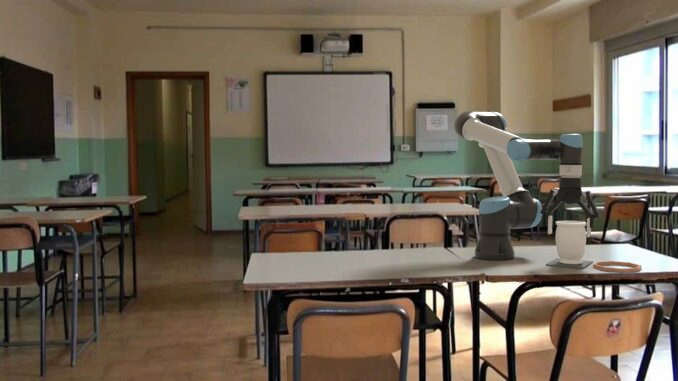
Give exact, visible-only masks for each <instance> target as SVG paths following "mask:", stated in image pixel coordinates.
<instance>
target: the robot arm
mask: <svg viewBox="0 0 678 381" xmlns="http://www.w3.org/2000/svg"><path fill="white" fill-rule="evenodd" d="M453 124H454V125H453V128H454V132H455V134H456V135H457V136H458V137H460V138H462V139H464V140H467V141H475V142H476V143H477V144H478V147H480V148H481V149H482V148H483V150H484V152H485V154H486V157H487V160H488V162H489V164H490V167H491V170H492V172H493V174H494V177H495V179H496V181H497V182H496V183H497V184H498V186H499V190H500V192H501V195H502V196H492V197H486V198H483V199H482V200H481V201H480V202H479V209H478V212H479V213H478V214H479V216H478V217H479V222H478V223H479V226H478V228H479V230H478V231H479V234H478V240H477V243H476V245H475V249H474V257H475V258H477V259H479V260H481V259H482V260H491V261H506V260H507V261H508V260H513V259H515V250H514V246H513V243H512V239H511V230H517V229H525V230H526V229H529V228H533V227H536V226H537V225H538V224H539V223H540V221H541V219H542V216H545V221H544V222H545V226H546V225H547V235H551V234H553V215H552V213H554V211H555V210H556V209H558V208H559V206H560V205H561V204H562V203H563V202H564V203H571V204H573V203H574V204H575V203H576V204H577V205H578V206H579V207H580V208H581V210H583V212H584V213H585V214H586V216H587V217H588V218H587V219H586V221H587V222H586V238H590V237H591V236H592V232H591V230H592V229H593V228H594V227H595V219H596V218H599V217H601V215H600V212H599V210H598V208H597V206H596V204H595V201H594V200H593V198H592V192H591V190H585V191H583V190H582V183H583V182H582V174H583V166H582V164H583V147H584V145H583V144H584V143H583V136H582V134H580V133H562V134H561V135H560V139H526V138H524V137H520V136H518V135H515V134H513V133H510V132H508V131H507V121H506V119H505V117H504V116H503V115H502V114H501V113H499V112H497V111H491V110H487V111H480V110H478V111H475V110H474V111H473V110H467V111H463V112H462V113H460V114H458V116H457V117H455V121H454V123H453ZM513 161H518V162H521V161H559V176H560V177H559V185H558V189H557V190H556V189H550V190H549V194H548V197H547V199H546V201H545V203H544V204H543V206H542V203H541V201H540V200H539V199H537V198H534V197H533V198H532V195H531V193H530V191H529V190H528V189H526V188H524V187H523V184H522V181H521V179H520V178H519V175H518V172H517V171H516V170H517V169H516V167H515V165H514V163H513ZM556 195H558V196H559V198H558V199H557V200H556V202H555V203H554V204H553V205H552V206H551V207H550V204H552V202H553V200H554V198H555V197H556ZM582 196H583V197H585V199H586V200H587V203H588V204H589V207H590V208H591V210H590V208H589V207H588V206H587V205H586V204H585V203H584V202H583V201H584V200H582V198H581V197H582ZM549 207H550V208H549ZM548 208H549V209H548Z"/></svg>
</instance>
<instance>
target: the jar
mask: <svg viewBox="0 0 678 381" xmlns="http://www.w3.org/2000/svg"><path fill="white" fill-rule="evenodd" d="M555 225H556V226H557V227H556V229H555V245H556V246H555V247H556V253H557V254H558V257H559V260H558V262H559V263H563V264H572V265H575V264H582V263H583V261H584V260H583V261H582V258H583V256H584V254H585V250H586V245H587V244H586V243H587V229H586V228H585V227H587V222H586V221H582V220H557V221H555Z"/></svg>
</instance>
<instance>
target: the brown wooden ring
mask: <svg viewBox="0 0 678 381" xmlns="http://www.w3.org/2000/svg"><path fill="white" fill-rule="evenodd" d="M609 265H610V266H623V267H626V268H623V267H622V268H621V267H607V266H609ZM627 267H628V268H627ZM592 268H593V269H597V270H599V271H602V272H614V273H636V272H637V271H639V270H640V271H641V270H642V264H637V263H633V262H630V261H629V262H627V261H618V260H617V261H615V260H609V261H608V260H606V261H596V262H595V263H594V262H593V263H592ZM640 271H639V272H640Z"/></svg>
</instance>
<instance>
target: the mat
mask: <svg viewBox="0 0 678 381" xmlns="http://www.w3.org/2000/svg"><path fill="white" fill-rule="evenodd" d="M559 259H560V257H559V258H555V259H553V260H551V261H549V262H547V263H545V267H554V268H566V267H568V268H567V269H579V270H584V269H586V268H587V267H589V266H590V265H593V264H594V261H592V260H582V261H583V263H582V264H575V265H572V264H563V263H559V262H558V260H559Z"/></svg>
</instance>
